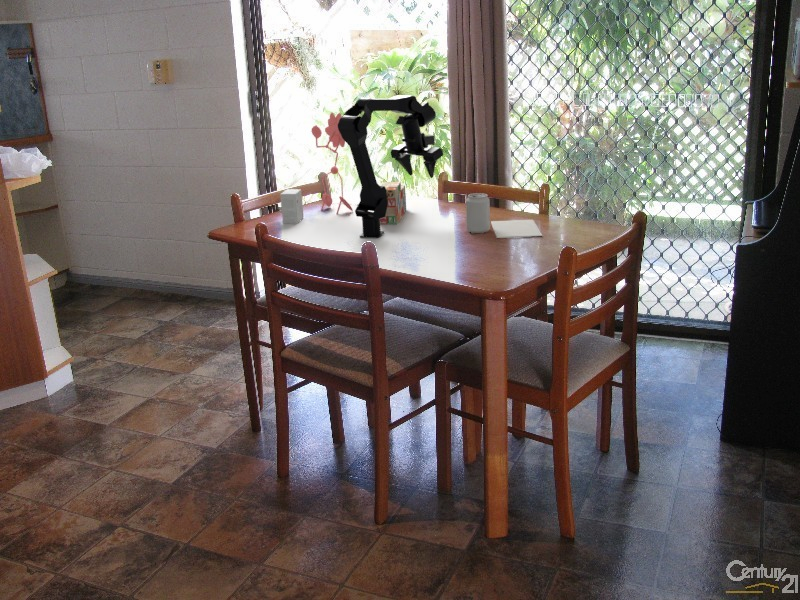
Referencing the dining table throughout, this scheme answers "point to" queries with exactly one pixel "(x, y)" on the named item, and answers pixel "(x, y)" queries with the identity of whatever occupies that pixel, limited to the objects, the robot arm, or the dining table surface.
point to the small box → (291, 205)
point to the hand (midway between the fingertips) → (421, 176)
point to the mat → (515, 228)
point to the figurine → (336, 140)
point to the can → (478, 213)
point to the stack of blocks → (394, 202)
